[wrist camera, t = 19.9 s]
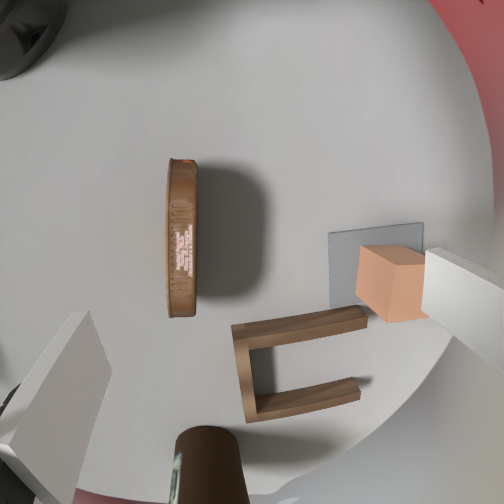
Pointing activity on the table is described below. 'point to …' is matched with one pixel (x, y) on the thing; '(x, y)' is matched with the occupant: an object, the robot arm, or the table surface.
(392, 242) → the mat
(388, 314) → the block
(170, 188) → the tin
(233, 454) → the olive oil
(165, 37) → the table surface
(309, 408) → the bay
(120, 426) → the table surface
